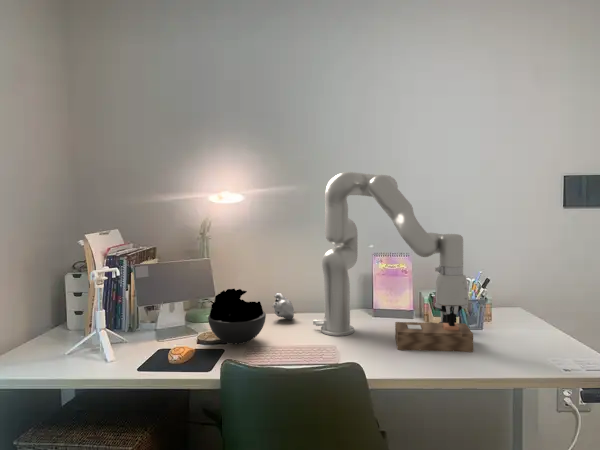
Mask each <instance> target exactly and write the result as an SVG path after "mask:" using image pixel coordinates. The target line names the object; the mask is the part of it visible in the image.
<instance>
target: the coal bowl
mask: <svg viewBox="0 0 600 450" xmlns="http://www.w3.org/2000/svg"><path fill="white" fill-rule="evenodd" d="M246 293H247V290H242V289H241V288H238V289H235V288H228V289H226V290H222V291H221V292H220V293H217V294H216V295H215V296H214V302H213V303H211V304H210V305H211V307H210V312H209V315H208V317H207V321H208V325H209V327H210V330H211V331H212V333H213V334H214V336H215V337H217V338H218V339H219V340H221V341H222V342H224V343H226V344H230V345H242V344H243V345H244V344H246V343H249V342H250V341H252V340H254V339H255V338H256V337H257V336H258V335H259V334H260V333H261V332H262V330H263V328H264V325H265V322H266V317H267V314H266V312H265V311H264V310H263V309H264V308H263V305H262V303H261V301H245V300H244V299H241V298H242V295H245V294H246Z"/></svg>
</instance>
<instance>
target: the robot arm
mask: <svg viewBox="0 0 600 450" xmlns="http://www.w3.org/2000/svg"><path fill="white" fill-rule="evenodd" d="M398 187H399V186H398V182H397V181H396V179H395V178H394V177H392V176H390V175H386V174H374V173H373V174H370V173H363V172H355V171H354V172H353V171H343V172H341V173H338V174H336V175H335V176H333V177H332V178H331V179H330V180H329V181H328V182H327V185H326V188H325V193H324V204H325V205H324V206H325V207H324V209H325V211H324V235H325V239H326V240H327V242H329V243H330V244H332V245H334V247H333V248H330V249H328V250H327V251H326V252H325V253H324V255H323V256H322V259H321V267H322V273H323V284H324V285H323V289H324V290H323V291H324V318H322V319H313V320H312V323H313V324H312V325H314V326H315V327H319V326H320V332H321V333H322V334H324V335H328V336H338V337H340V336H348V335H352V334H353V333H354V332H355V327H354V326H352V325H351V290H350V289H351V287H350V285H351V283H350V277H349V272H348V270H350V269H352V268H353V267H354V266H355V265H356V263H357V261H358V244H359V243H358V241H359V239H358V227H357V225H356V223H355V221H354V220H353V219H352V218H349V205H348V200H347V199H348V197H349V196H362V197H371V198H373V199H374V200H375V202H376V203H378V205H379V206H380V207H381V208H382V210H383V211H384V212H385V214H387V216H388V217H389V218H390V220H391V221H392V223H393V225H394V227H395V229H396V230H397V232H398V233H399V235H400V237H401V238H402V239H403V241H405V243H406V244H407V246H409V248H410V249H411V251H412V252H414V254H416V255H417V256H418V257H421V258H428V257H431V256H433V255H435V254H439V266H438V267H434V270H435V272H437V273H438V274H437V277H436V281H435V297H434V298H435V303H434V307H435V308H437V309H439V308H440V309H443V310H444V311H445V312H446V322H447V323H448V324H449V326H455V323H457V315H458V313H459V312H460V311H461V310H464V309H468V308H469V289H468V280H467V275H465V274H464V236H462V234H459V233H444V234H442V233H437V232H436V233H435V232H427V231H426V230H425V228H424V227H423V226H422V225H421V224H420V222H419V221H418V219H417V217H416V215H415V213H414V208H413V205H412V204H411V203H410V201H409V200H408V198H406V196H405V195H404V194H403V193H402V191H400V190H399V188H398ZM449 306H453V309H452V312H450V307H449Z"/></svg>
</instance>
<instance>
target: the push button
mask: <svg viewBox="0 0 600 450" xmlns="http://www.w3.org/2000/svg"><path fill="white" fill-rule="evenodd" d="M449 307H450V312H452V310H453V306H449ZM438 309H439V310H438V311H440V320H439V322H438V323H447V322H446V312H445V311H444V310H443V309H440V308H438Z"/></svg>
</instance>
